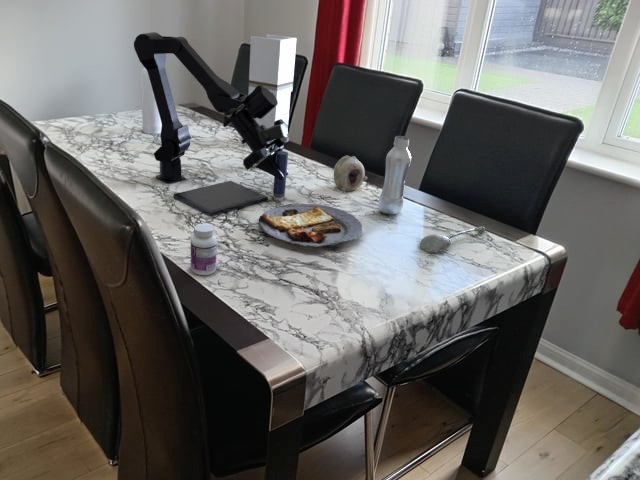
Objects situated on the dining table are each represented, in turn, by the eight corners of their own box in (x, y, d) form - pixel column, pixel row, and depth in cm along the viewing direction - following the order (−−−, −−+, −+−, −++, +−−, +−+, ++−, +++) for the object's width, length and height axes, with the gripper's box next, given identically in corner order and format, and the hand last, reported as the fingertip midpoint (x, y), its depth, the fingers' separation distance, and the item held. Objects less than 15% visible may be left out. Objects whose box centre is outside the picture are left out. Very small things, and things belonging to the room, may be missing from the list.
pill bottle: (190, 263, 122) (190, 221, 117) (216, 264, 122) (216, 222, 118) (190, 276, 117) (190, 232, 112) (216, 276, 118) (217, 232, 113)
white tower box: (288, 141, 211) (296, 37, 193) (273, 147, 203) (280, 40, 186) (261, 135, 216) (267, 34, 199) (246, 141, 208) (250, 36, 191)
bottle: (162, 134, 209) (160, 46, 195) (140, 133, 209) (137, 44, 195) (165, 129, 216) (163, 43, 202) (144, 128, 216) (141, 42, 202)
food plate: (288, 259, 126) (290, 245, 124) (241, 220, 144) (242, 207, 142) (379, 242, 137) (381, 228, 135) (325, 207, 154) (326, 195, 153)
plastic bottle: (402, 210, 156) (416, 136, 146) (399, 218, 150) (414, 142, 141) (378, 206, 158) (391, 133, 148) (375, 214, 152) (387, 139, 142)
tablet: (173, 197, 155) (173, 193, 155) (230, 183, 167) (230, 180, 167) (210, 216, 145) (210, 212, 145) (268, 200, 157) (268, 196, 157)
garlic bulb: (332, 194, 171) (323, 162, 167) (348, 184, 175) (341, 152, 172) (357, 194, 164) (349, 160, 160) (374, 183, 168) (367, 150, 165)
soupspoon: (412, 247, 137) (434, 259, 132) (415, 235, 135) (437, 247, 130) (471, 227, 148) (493, 237, 143) (474, 215, 146) (497, 225, 141)
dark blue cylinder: (270, 198, 158) (273, 152, 152) (278, 196, 160) (282, 150, 154) (278, 202, 156) (282, 155, 150) (286, 199, 158) (290, 153, 152)
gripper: (256, 117, 141) (295, 169, 142) (283, 104, 156) (318, 151, 158) (226, 144, 147) (264, 193, 149) (255, 129, 162) (288, 174, 164)
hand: (285, 177), depth 155 cm, fingers closed on dark blue cylinder, 3 cm apart
